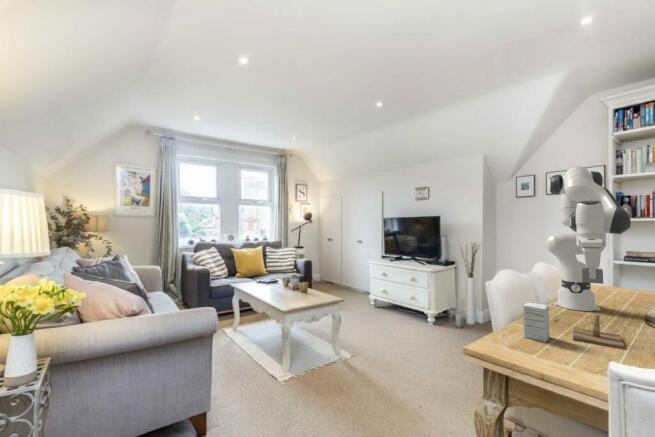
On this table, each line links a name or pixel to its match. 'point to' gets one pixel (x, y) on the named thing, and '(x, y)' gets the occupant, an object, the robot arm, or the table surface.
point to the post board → (598, 340)
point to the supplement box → (536, 321)
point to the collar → (587, 279)
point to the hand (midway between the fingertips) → (592, 277)
